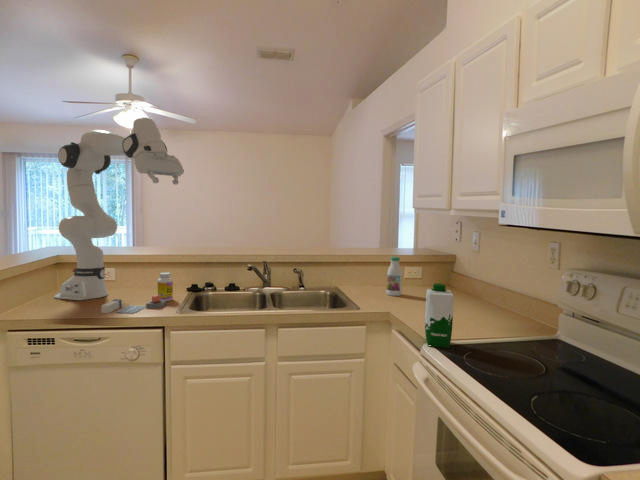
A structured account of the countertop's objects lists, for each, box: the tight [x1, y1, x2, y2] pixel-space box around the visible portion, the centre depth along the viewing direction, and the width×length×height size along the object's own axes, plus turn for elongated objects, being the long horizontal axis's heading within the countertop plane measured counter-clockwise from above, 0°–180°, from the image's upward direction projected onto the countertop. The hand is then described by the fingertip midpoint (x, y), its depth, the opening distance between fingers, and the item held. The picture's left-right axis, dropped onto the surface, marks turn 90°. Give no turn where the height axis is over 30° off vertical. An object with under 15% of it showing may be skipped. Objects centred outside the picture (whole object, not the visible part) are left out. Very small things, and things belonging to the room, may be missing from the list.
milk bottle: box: [386, 256, 403, 297], centre depth 206 cm, size 8×8×20 cm
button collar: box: [145, 300, 167, 309], centre depth 173 cm, size 6×6×2 cm
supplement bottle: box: [157, 272, 174, 302], centre depth 184 cm, size 7×7×13 cm
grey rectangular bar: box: [101, 298, 123, 314], centre depth 166 cm, size 10×3×3 cm, turn 179°
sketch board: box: [115, 305, 146, 314], centre depth 167 cm, size 8×11×1 cm
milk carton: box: [424, 283, 454, 349], centre depth 132 cm, size 9×9×20 cm
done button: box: [151, 294, 160, 303], centre depth 173 cm, size 3×3×3 cm
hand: (166, 183), depth 157 cm, fingers open, 8 cm apart
